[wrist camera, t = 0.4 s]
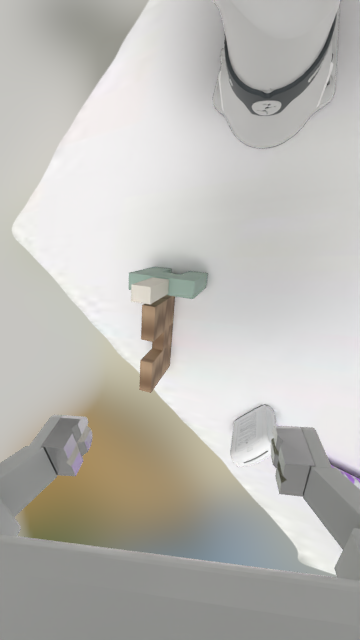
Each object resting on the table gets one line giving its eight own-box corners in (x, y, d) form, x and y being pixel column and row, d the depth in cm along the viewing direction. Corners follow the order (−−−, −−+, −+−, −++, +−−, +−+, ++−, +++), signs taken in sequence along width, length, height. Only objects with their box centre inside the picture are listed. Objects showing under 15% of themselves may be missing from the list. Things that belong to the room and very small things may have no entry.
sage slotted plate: (154, 266, 55) (103, 278, 36) (207, 273, 52) (181, 289, 33) (153, 280, 56) (103, 298, 37) (206, 287, 53) (180, 310, 34)
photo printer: (242, 433, 61) (239, 477, 49) (231, 420, 61) (225, 461, 49) (278, 414, 57) (284, 458, 45) (266, 401, 56) (269, 440, 45)
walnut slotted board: (164, 292, 56) (142, 305, 45) (175, 294, 55) (155, 307, 44) (160, 363, 61) (139, 389, 50) (169, 365, 61) (150, 392, 50)
